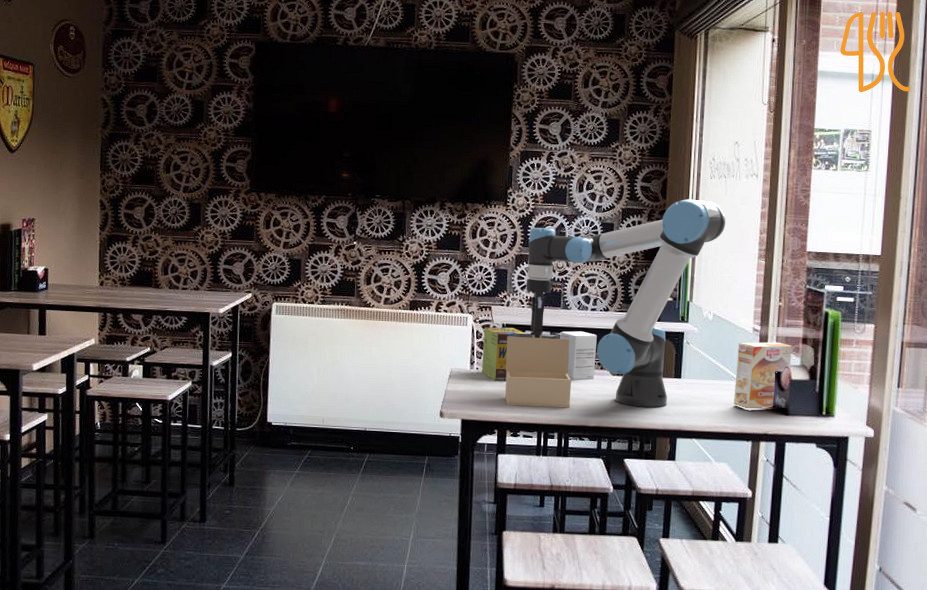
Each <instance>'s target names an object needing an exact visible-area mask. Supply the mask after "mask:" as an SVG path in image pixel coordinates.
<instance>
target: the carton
mask: <svg viewBox="0 0 927 590" xmlns="http://www.w3.org/2000/svg"><path fill="white" fill-rule="evenodd" d="M571 386H572V379H570V377H569V376H568V374H561V373H541V372H520V371H507V374H506V381H505V391H504V392H505V395H504V397H505V401H506V402H505V403H506V405H513V406H529V407H530V406H532V407H549V408H550V407H552V408H553V407H554V408H570V403H571V390H572V389H571V388H572V387H571Z"/></svg>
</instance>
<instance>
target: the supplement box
mask: <svg viewBox="0 0 927 590" xmlns="http://www.w3.org/2000/svg"><path fill="white" fill-rule="evenodd" d="M560 339H569V359H568V376H569V377H570V379H571V380H585V379H586V380H587V379H590V380H591V379H594V377H595V366H596V365H595V363H596V353H597V334H594V333H593V334H592V333H591V332H590V333H589V332H585V331H561V332H560Z"/></svg>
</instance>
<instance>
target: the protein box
mask: <svg viewBox="0 0 927 590" xmlns="http://www.w3.org/2000/svg"><path fill="white" fill-rule="evenodd" d="M513 333H521V334H527V333H525V332H523V331H522V330H519V329H517V328H514V327H493V326H492V327H490V326H489V327H487V326H486V327H484V331H483V348H482V364H481V365H482V366H481V367H482V369H481V373H483V374H484V375H486V376H488V377H489V378H490V379H492V380H493V381H498V382H500V381H501V382H503V381H504V382H506V374H507V371H506V356H507V336H509V337H513Z"/></svg>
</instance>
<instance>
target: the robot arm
mask: <svg viewBox="0 0 927 590" xmlns="http://www.w3.org/2000/svg"><path fill="white" fill-rule="evenodd" d="M725 226H726V217H725V213H724V211H723V209H721V207H720V206H719V205H717V204H716V203H715V202H712V201H707V200H696V199H692V198H691V199H690V198H689V199H687V198H686V199H682V200H679V201H676V202H674V203H672V204H671V205H670V206H669V207H668V208H667V209H666V211H665V212H664V214H663V216H662V219H660V220H655V221H651V222H647V223H641V224H637V225H634V226H630V227H625V228H620V229H616V230H612V231H608V232H604V233H600V234H594V235H591V236H566V235H565V236H562V235H556V234H555V233H556V232H555V229H553V228H547V227H546V228H545V227H534V228H533V227H532V228H531V229H530V232H529V240H528V260H527V267H525V271H527V274H526V275H527V280H526V291H527V292H530V293H533V296H532V297H531V300H530V303H531V308H530V309H531V321H530V334H531V335H532V338H541V336H542V335H543V332H544V331H543V327H544V326H543V324H544V311H545V304H546V298H545V297H544V294H548V293H551V291H552V283H553V282H552V280H551V279H552V278H553V271H554V269H553V268H554V266H553V265H554V261H557V262H565V263H566V262H567V263H572V264H584V263H586V262H599V261H602V260H604V259H607V258H611V257H616V256H621V255H625V254H631V253H634V252H636V253H637V252H640V251H643V250H649V249H654V248H657V247H658V248H659V250H658V251H657V253H656V256H655V257H654V259H653V261H652V263H651V264H650V267H649V268H648V271H647V273H646V275H645V276H644V279H643V280H642V282H641V284H640V286H639V289H638V291H637V292H636V294H635V296H634V298H633V300H632V302H631V304H630V306H629V307H628V310H627V311H626V314H625V315H624V317H623V318H622V317H621V318H618V319H617V320H616V321H615V323H614V325H613V327H612V329H611V331H610V333H608V334H606V335H604V336H603V337H602V338H601V339H600V340H599V342H598V344H597V347H596V353H597V355H596V356H597V357H598V361H599V363H600V364H601V366H602V367H603V368H604V369H605V370H606V371H607V372H609V373H611V374H615V375H616V374H617V375H618V374H619V375H622V376H621V378H620V379H621V380H620V382H619V385H618V386H617V389H616V392H615V401H616V402H618V403H621V404H624V405H628V406H635V407H644V408H645V407H647V408H657V407H663V406H666V405H667V401H668V400H667V399H668V395H667V391H666V387H665V384H664V379H663V375H664V374H663V372H664V361H665V348H666V331H665V330H664V329H663V328H660V327H655V326H656V324H657V321H658V320H659V317H660V316H661V314H662V312H663V310H664V308H665V307H666V305H667V303H668V300H669V299H670V297H671V295H672V293H673V292H674V289H675V287H676V286H677V284H678V282H679V280H680V278H681V276H682V274H683V272H684V270H685V268H686V266H687V265H688V263H689V262H690V260H691V259H692V258H695V257H698V255H699V254H700V252H701V250H702V249H703V247H704V244H705V243H709V242H713V241H715V240H716V239H717V238H719V237H720V236H721V234H722V233H723V232H724V229H725Z"/></svg>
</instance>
